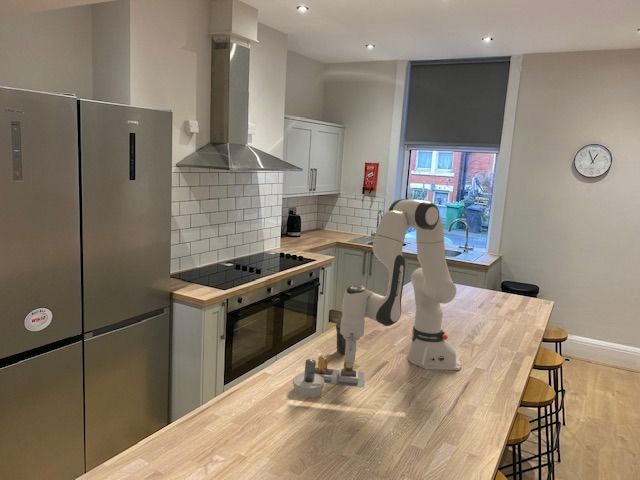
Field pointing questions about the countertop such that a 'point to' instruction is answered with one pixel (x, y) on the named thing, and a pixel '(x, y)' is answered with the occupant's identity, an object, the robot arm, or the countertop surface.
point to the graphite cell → (309, 370)
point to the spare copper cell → (322, 365)
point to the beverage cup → (340, 339)
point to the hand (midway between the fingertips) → (348, 363)
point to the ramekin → (308, 386)
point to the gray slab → (343, 377)
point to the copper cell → (347, 368)
